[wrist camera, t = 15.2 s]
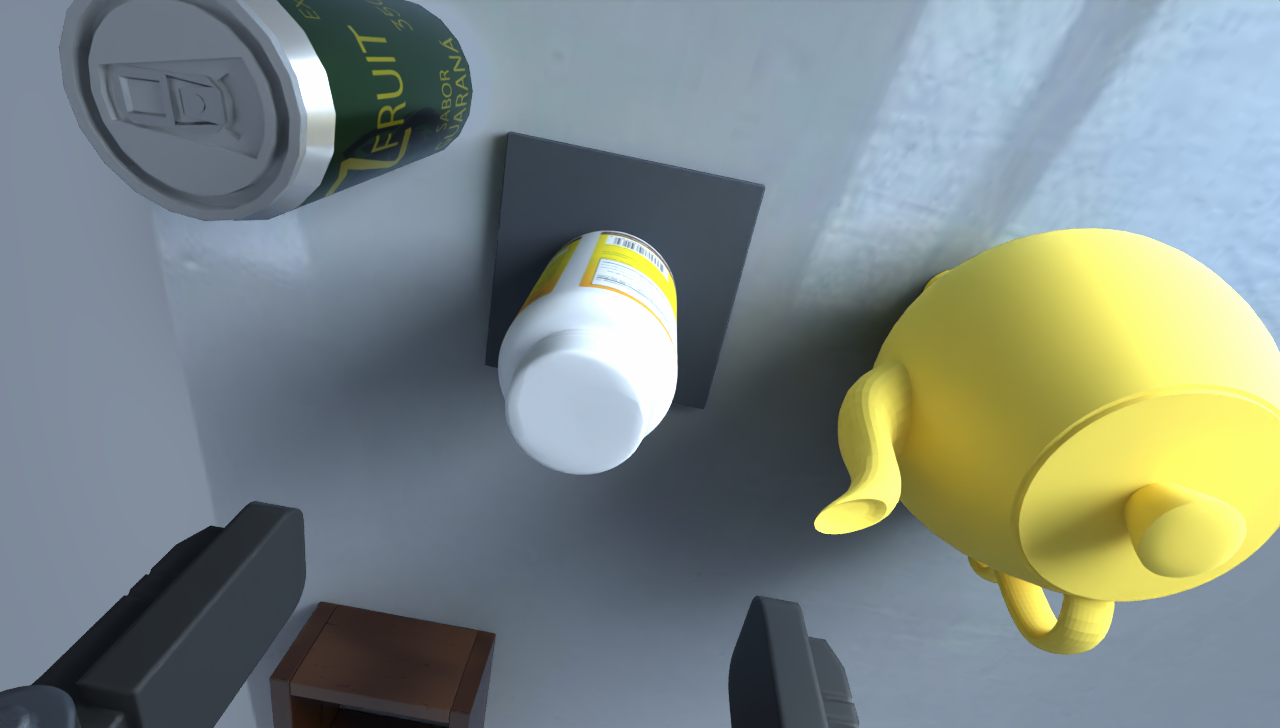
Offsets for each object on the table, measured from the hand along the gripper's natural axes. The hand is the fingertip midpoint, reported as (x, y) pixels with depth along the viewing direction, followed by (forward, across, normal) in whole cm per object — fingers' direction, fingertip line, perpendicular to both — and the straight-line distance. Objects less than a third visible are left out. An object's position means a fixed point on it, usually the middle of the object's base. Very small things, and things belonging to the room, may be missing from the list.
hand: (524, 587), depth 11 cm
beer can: (+18, +9, -6) cm, 21 cm away
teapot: (+17, -17, +1) cm, 24 cm away
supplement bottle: (+17, 0, 0) cm, 17 cm away
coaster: (+17, 0, 0) cm, 17 cm away
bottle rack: (+17, +8, +31) cm, 37 cm away
